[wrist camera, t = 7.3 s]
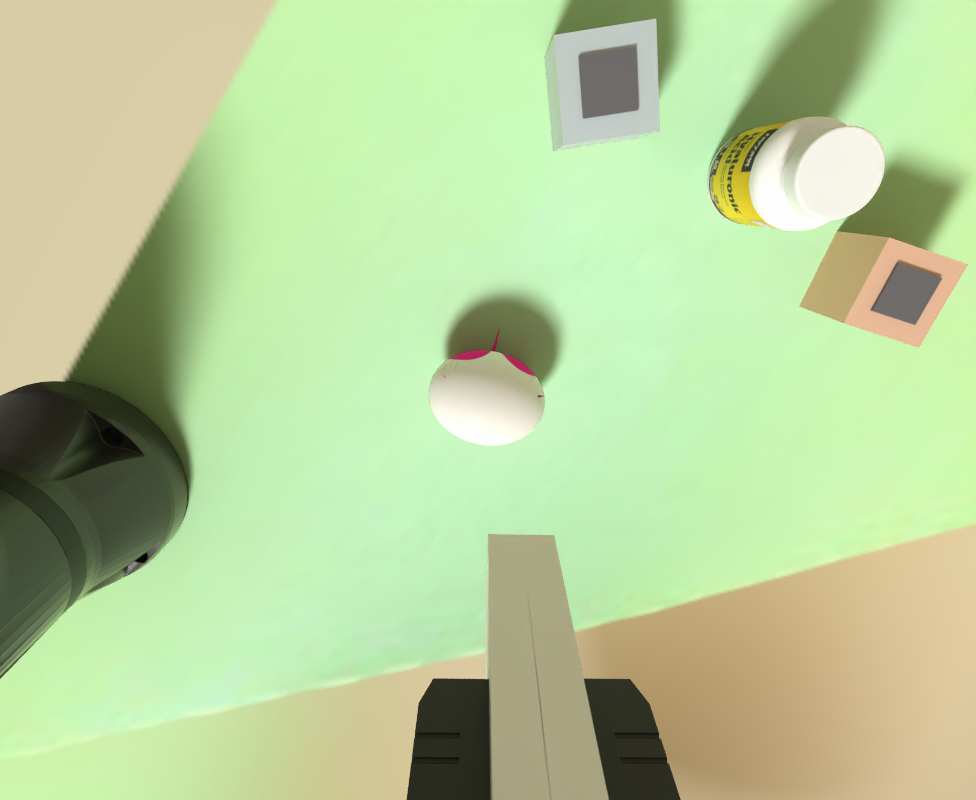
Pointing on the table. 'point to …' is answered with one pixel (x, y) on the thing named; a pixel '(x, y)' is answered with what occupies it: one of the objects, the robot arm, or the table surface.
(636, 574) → the table surface
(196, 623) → the table surface
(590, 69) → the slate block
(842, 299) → the terracotta block
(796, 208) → the supplement bottle
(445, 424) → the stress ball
